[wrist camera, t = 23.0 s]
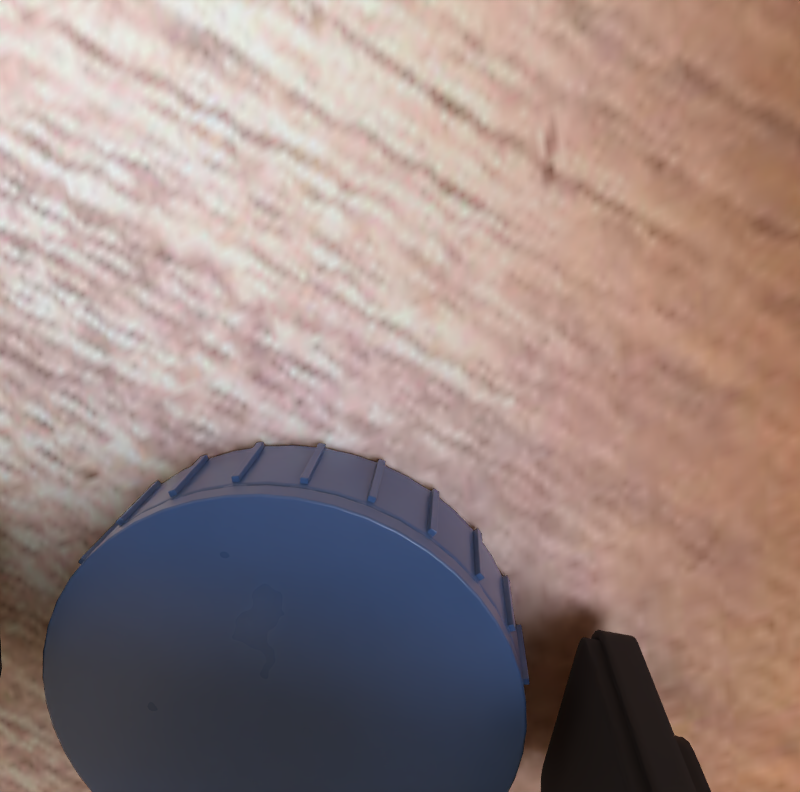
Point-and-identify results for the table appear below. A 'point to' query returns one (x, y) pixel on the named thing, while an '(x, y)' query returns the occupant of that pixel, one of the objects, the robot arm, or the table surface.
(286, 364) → the table surface
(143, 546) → the lid
